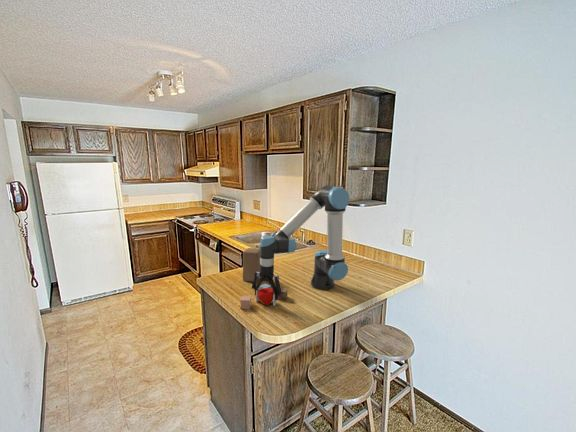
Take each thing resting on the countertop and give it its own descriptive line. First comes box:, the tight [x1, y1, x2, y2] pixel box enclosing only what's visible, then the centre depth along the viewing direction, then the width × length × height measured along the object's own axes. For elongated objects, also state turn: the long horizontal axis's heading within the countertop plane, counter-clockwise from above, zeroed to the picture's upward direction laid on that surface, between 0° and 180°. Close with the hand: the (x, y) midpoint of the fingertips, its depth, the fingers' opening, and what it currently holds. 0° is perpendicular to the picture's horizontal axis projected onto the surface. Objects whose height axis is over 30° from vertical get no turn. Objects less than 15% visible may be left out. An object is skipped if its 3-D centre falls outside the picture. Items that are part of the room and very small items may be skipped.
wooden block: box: [242, 247, 261, 283], centre depth 181 cm, size 10×10×20 cm
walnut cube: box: [277, 287, 288, 301], centre depth 158 cm, size 5×5×5 cm
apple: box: [258, 288, 274, 306], centre depth 151 cm, size 9×9×8 cm
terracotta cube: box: [240, 295, 252, 310], centre depth 147 cm, size 5×5×5 cm
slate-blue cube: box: [258, 283, 272, 289], centre depth 162 cm, size 5×5×5 cm
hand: (266, 302), depth 151 cm, fingers open, 10 cm apart
